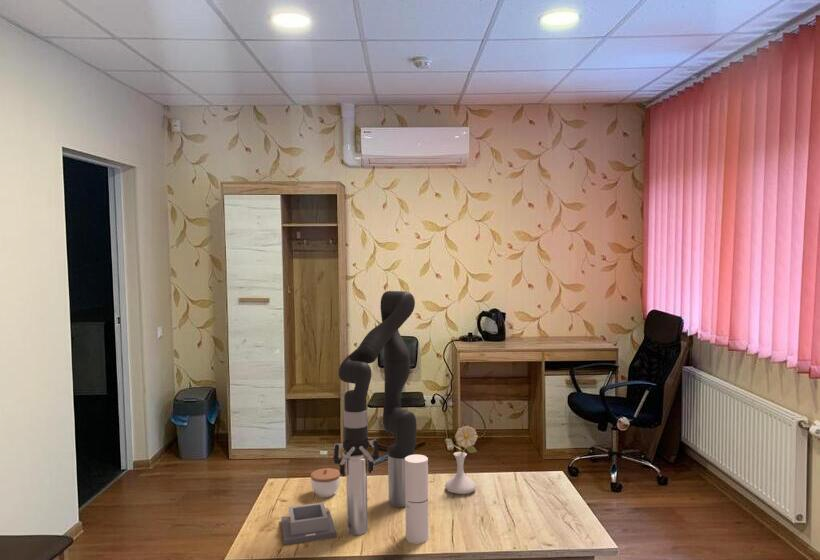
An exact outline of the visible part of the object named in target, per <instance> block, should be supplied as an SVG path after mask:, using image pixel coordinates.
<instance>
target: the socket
mask: <svg viewBox="0 0 820 560" xmlns="http://www.w3.org/2000/svg"><path fill="white" fill-rule="evenodd" d="M329 509H330V508H329V507H326V506H325V504H324V502H317V503H309V504H302V505H294V506H293V505H292V506H288V513H286V515H285V516H281V518H280V519H281V527H282V535H283V544H284V546H285V545H286V546H288V545H291V544H299V543H306V542H312V541H313V542H314V541H319V540H325V539H326V540H327V539H331V538H337V529H336V526H335V523H334V520H333V518H332V513H331V511H330V510H329Z"/></svg>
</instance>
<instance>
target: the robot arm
mask: <svg viewBox="0 0 820 560" xmlns="http://www.w3.org/2000/svg"><path fill="white" fill-rule="evenodd" d="M415 306H416V302H415V296H414V295H413V294H412V293H411V292H409V291H403V290H402V291H401V290H400V291H399V290H397V291H396V290H387V291H384V292H383V293H382V296H381V298H380V306H379V307H380V316H381V317H380V319H381V322H380V323H379V324H378V325H376V326H375V327H374V328H372V329H371V330H370V331H368V333H367V334H365V336H364V338H363V340H361V342H360V344H359V345H358V347H357V348H356V349H355V350H353V352H351V353H350V354H349V355H348V356H347V357H345V358H344V359H343V361H342V362H341V364H339V365H340V366H339V369H338V377H339V379H340V381H341V382H344V383H348V384H353V385H354V388H353V389H351V390H348V391H345V393H344V399H343V400H344V401H343V403H344V409H343V410H344V413H343V443H339V442H334V443H333V454H332V455H333V457H332V458H333V462H334V464H335V465H336V464H337V465H338V467H339V468H338V469H339V470H338V471H339V472H340V476H342V477H346V474H345V473H346V460H347V459H348V458H349V457H350V456H355V455H362V454H364V455H365V457H366V459H367V473H368V474H372V472H373V471H374V461H376V460H378V459H379V458H380V453H379V442H378V440H377V439H376V438H373V439H371V440H369V439H368V438H369V437H368V435H369V433H368V432H369V431H368V429H369V427H368V426H369V425H368V423H369V419H368V411H367V409H368V408H367V407H368V406H367V403H368V401H367V397H368V396H367V395H368V393H369V392H368V391H369V387H370V383H371V380H372V375H373V374H372V369H371V366H370V364H372V363H374V362H375V361H376V360H377V358H378V357H379V355H380V354H381V352H382V350H383V370H384V397H383V398H384V400H383V408H382V409H383V410H382V411H383V413H382V425H383V428H384V430H385V431H386V432H387V433H389V434H392V435H395V436H396V441H395V443H394V442H393V443H392V444H391V443H390V445H388V448H387V462H388V463H387V467H388V468H387V469H388V470H387V472H388V474H387V475H388V476H387V478H388V479H387V481H388V504H389V505H390V506H393V507H396V508H405V457H407V456H409V455H415V448H416V444H417V427H418V426H417V418H416V415H415V414H414V412H412V411H409V410H407V409H403V408H402V406H401V405H402V403H401V401H402V400H401V398H402V397H401V396H402V393H403V392H402V391H403V389H404V387H405V385H406V383H407V381H408V379H409V376H410V373H411V355H410V351H409V349H408V347H407V345H406V343H405V341H404V339H403V338H402V336H401V334H400V331H399V329H400V328H401V327H402V326H403V325H404V323H405V322H406V321H407V320H408V319H409V318H410V317H411V315H412V314H413V312H414V309H415ZM369 446H371V448H372V452H373V454H370V453H369V451H368V450H367V449H368V448H369ZM342 448H343V449H344V451H343V452H342V455H341V456H340V458H339V455H340V451H341V450H342Z"/></svg>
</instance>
